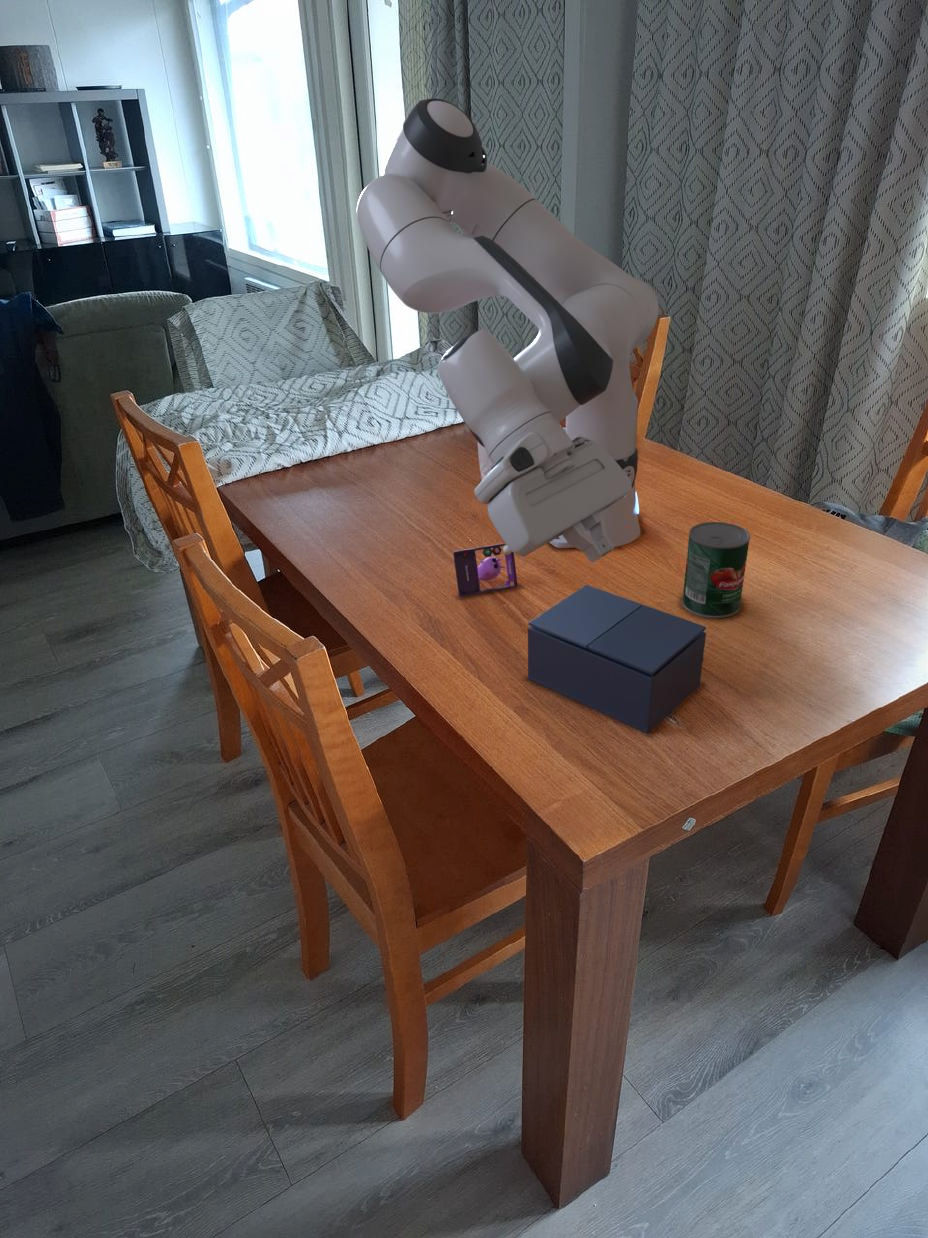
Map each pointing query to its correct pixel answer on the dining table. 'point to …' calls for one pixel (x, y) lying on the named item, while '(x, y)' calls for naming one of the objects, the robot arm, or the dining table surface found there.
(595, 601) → the flap
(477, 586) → the game card
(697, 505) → the dining table surface
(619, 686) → the carton
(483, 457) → the white cup
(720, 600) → the canned tomato
